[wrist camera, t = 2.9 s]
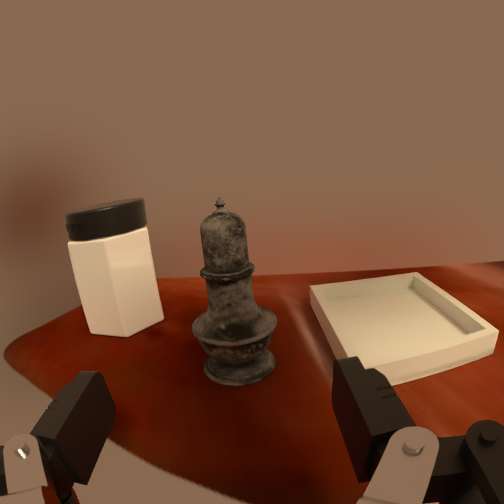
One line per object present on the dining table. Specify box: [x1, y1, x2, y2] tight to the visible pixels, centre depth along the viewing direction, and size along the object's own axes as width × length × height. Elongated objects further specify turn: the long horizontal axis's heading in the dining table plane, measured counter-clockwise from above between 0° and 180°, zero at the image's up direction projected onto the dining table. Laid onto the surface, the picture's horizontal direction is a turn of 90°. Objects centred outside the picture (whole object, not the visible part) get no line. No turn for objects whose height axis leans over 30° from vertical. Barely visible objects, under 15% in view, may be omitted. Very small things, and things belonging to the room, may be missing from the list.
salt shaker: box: [192, 198, 277, 386], centre depth 21 cm, size 6×6×12 cm
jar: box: [65, 198, 164, 337], centre depth 29 cm, size 9×8×12 cm
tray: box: [310, 272, 499, 386], centre depth 24 cm, size 12×14×2 cm
